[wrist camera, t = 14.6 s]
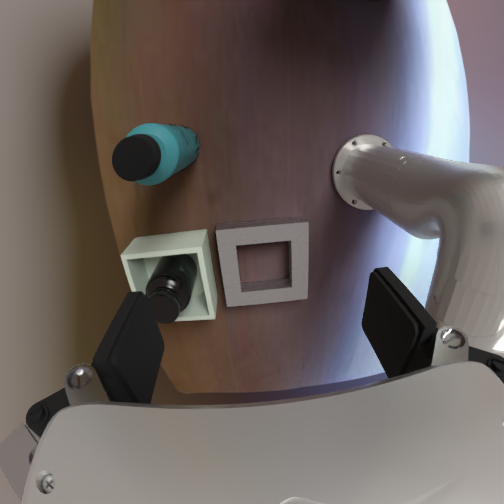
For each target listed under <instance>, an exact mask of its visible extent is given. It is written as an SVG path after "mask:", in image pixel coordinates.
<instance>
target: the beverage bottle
mask: <svg viewBox="0 0 504 504" xmlns="http://www.w3.org/2000/svg"><path fill="white" fill-rule="evenodd" d="M181 126H182V125H181ZM181 126H179V125H178V126H175V125H174V126H173V125H172V124H171V125H169V124H168V125H160V124H155V123H147V124H143V125H140V126H138V127H136V128H134V129H133V130H132V131H131V132H130V133H129V134H128V135H127V136H126V138H124V139H123V140H121V141H120V142H119V143H118V144H117V146H116V147H115V149H114V152H113V156H112V164H113V168H114V170H115V172H116V173H117V174H118V175H119V176H120V177H121V178H122V179H124V180H127V181H135V182H137V183H139V184H142V185H156V184H159V183H161V182H163V181H165V180H166V179H168V178H169V177H170V176H171V175H173V174H175V173H177V172H179V171H180V170H181V171H182V169H183V168H185V167H187V166H189V165H190V164H192V163H193V161H194V160H195V159H197V158H196V157H197V155H199V154H198V153H200V152H199V151H200V150H199V143H200V142H199V141H200V140H198V138H197V136H196V133H194V132H193V131H192V130H190V129H191V128H188V127H181ZM195 161H196V160H195ZM195 161H194V162H195ZM183 170H184V169H183ZM181 171H180V172H181Z"/></svg>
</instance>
